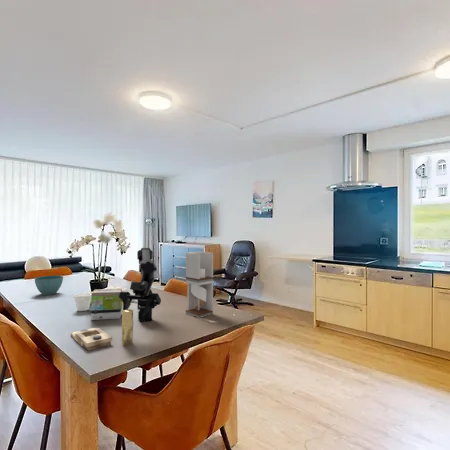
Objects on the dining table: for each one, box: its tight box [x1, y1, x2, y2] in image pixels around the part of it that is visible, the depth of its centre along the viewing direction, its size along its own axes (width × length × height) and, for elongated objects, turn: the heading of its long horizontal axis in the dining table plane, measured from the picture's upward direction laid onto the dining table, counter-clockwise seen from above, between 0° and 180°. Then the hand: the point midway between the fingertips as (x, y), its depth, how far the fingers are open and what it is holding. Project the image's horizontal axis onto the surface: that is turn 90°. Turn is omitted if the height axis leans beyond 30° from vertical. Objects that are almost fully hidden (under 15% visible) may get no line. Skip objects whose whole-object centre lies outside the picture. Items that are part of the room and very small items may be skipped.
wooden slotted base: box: [70, 327, 113, 351], centre depth 130 cm, size 10×22×4 cm, turn 42°
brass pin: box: [121, 308, 134, 347], centre depth 126 cm, size 4×4×14 cm
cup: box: [73, 292, 92, 312], centre depth 178 cm, size 10×10×9 cm
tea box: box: [90, 288, 123, 321], centre depth 165 cm, size 15×10×15 cm, turn 105°
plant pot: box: [34, 275, 64, 296], centre depth 222 cm, size 18×18×12 cm
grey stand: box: [185, 251, 214, 318], centre depth 171 cm, size 11×11×35 cm
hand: (133, 314), depth 130 cm, fingers open, 9 cm apart
